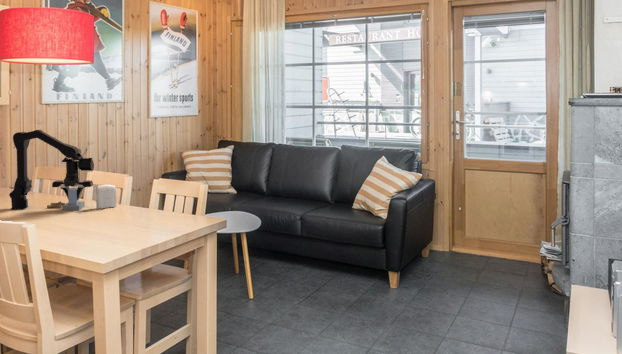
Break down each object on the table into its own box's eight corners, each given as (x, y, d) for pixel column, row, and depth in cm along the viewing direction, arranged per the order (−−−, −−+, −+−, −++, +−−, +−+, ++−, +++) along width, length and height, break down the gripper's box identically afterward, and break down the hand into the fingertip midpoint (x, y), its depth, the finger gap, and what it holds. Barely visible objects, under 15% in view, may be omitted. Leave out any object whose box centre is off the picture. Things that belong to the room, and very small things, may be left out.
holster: (47, 208, 268) (46, 205, 267) (55, 202, 283) (55, 200, 282) (65, 208, 269) (65, 205, 269) (73, 202, 284) (73, 200, 284)
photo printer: (114, 205, 278) (113, 183, 277) (117, 207, 275) (116, 184, 273) (95, 208, 271) (94, 185, 269) (98, 209, 268) (97, 186, 266)
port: (62, 210, 262) (62, 205, 262) (68, 206, 274) (68, 201, 274) (79, 210, 264) (79, 204, 264) (84, 206, 276) (84, 200, 275)
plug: (68, 205, 266) (67, 188, 265) (70, 204, 270) (69, 187, 269) (76, 205, 267) (76, 188, 266) (78, 203, 271) (78, 187, 270)
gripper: (48, 172, 257) (49, 203, 259) (87, 172, 260) (88, 202, 262) (54, 169, 268) (56, 199, 270) (92, 169, 271) (93, 198, 273)
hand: (73, 200), depth 268 cm, fingers closed on plug, 4 cm apart
